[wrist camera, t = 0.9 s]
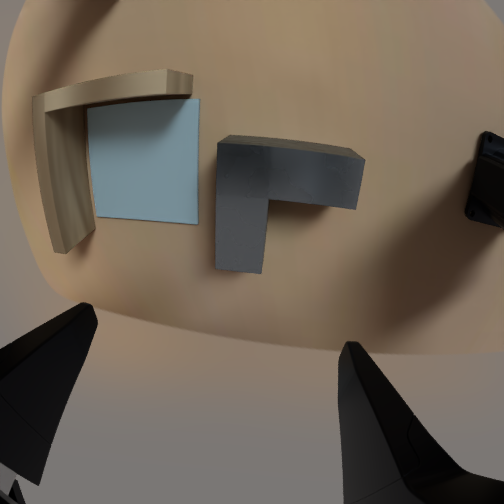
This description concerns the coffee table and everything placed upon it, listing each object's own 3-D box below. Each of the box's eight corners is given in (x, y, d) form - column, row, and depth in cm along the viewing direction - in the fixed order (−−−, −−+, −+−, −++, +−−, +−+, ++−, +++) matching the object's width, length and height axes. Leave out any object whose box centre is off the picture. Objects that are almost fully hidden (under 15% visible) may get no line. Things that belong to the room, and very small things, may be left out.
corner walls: (192, 75, 14) (167, 68, 10) (191, 237, 19) (172, 269, 16) (71, 91, 14) (32, 96, 11) (83, 227, 20) (54, 252, 16)
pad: (200, 98, 15) (199, 98, 14) (198, 223, 19) (197, 224, 18) (88, 108, 15) (87, 108, 15) (98, 215, 19) (96, 216, 19)
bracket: (230, 134, 16) (217, 142, 13) (349, 147, 15) (365, 159, 12) (226, 240, 19) (215, 268, 16) (330, 251, 19) (338, 281, 16)
